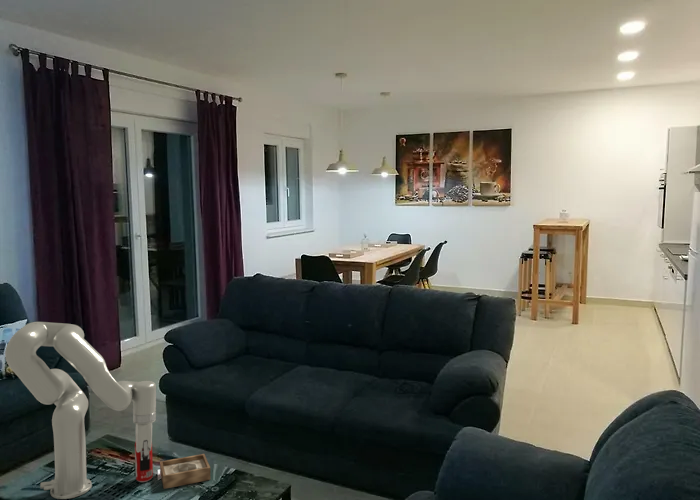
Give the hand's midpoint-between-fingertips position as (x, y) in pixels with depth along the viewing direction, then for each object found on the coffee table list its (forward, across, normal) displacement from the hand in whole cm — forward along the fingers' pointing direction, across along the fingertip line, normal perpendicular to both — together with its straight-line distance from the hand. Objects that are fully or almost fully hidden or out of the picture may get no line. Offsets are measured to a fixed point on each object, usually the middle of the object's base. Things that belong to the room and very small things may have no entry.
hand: (144, 465), depth 192 cm
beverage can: (+5, 0, 0) cm, 5 cm away
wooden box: (+5, +3, +14) cm, 15 cm away
